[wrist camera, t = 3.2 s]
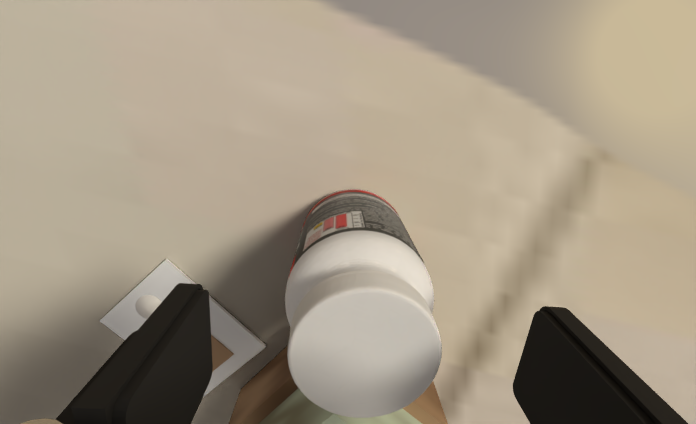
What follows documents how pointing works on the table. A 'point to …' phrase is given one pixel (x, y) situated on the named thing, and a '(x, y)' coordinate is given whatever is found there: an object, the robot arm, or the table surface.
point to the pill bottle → (360, 309)
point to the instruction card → (226, 331)
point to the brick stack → (306, 417)
